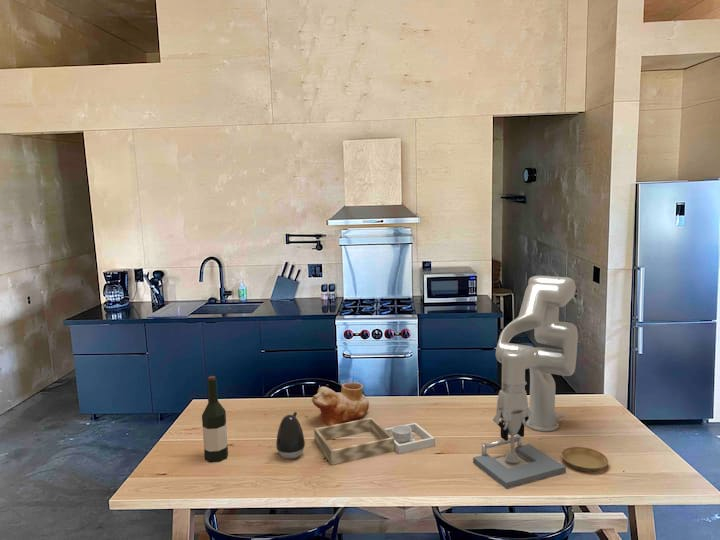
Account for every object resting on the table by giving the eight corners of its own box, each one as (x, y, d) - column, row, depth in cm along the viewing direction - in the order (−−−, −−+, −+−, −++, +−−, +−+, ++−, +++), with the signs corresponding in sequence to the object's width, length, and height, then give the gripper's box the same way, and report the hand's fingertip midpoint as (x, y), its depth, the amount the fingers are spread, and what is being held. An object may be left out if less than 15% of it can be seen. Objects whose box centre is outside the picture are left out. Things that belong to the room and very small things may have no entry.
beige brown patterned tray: (372, 429, 210) (371, 417, 210) (394, 451, 192) (394, 438, 191) (314, 441, 201) (314, 428, 201) (331, 465, 183) (331, 451, 182)
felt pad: (513, 454, 188) (513, 453, 188) (531, 466, 179) (531, 465, 179) (492, 459, 184) (492, 459, 184) (509, 471, 176) (509, 471, 176)
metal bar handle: (519, 450, 191) (519, 434, 190) (522, 452, 189) (522, 436, 188) (480, 459, 184) (480, 443, 184) (483, 461, 183) (483, 445, 182)
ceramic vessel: (305, 420, 221) (304, 385, 219) (358, 405, 235) (357, 373, 233) (321, 431, 209) (320, 395, 207) (376, 415, 223) (375, 381, 221)
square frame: (415, 429, 209) (415, 422, 209) (434, 445, 195) (434, 438, 195) (381, 437, 204) (380, 429, 203) (398, 454, 190) (398, 446, 189)
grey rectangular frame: (529, 449, 191) (529, 443, 191) (565, 472, 175) (565, 466, 174) (473, 462, 182) (473, 457, 182) (506, 488, 166) (506, 482, 166)
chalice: (523, 464, 178) (524, 414, 175) (502, 463, 179) (503, 412, 176) (521, 454, 185) (522, 405, 182) (501, 453, 186) (501, 404, 183)
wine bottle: (207, 465, 185) (201, 382, 181) (202, 455, 192) (197, 375, 188) (230, 459, 189) (226, 378, 185) (225, 449, 196) (220, 371, 192)
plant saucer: (613, 476, 172) (614, 469, 172) (566, 473, 174) (566, 466, 174) (600, 454, 186) (601, 447, 186) (557, 452, 189) (557, 445, 188)
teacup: (385, 444, 197) (385, 433, 197) (393, 433, 207) (393, 422, 206) (411, 448, 194) (411, 436, 193) (418, 437, 203) (418, 425, 203)
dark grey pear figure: (310, 450, 194) (308, 411, 192) (297, 464, 184) (295, 422, 182) (285, 446, 197) (283, 408, 195) (271, 460, 188) (269, 419, 185)
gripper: (526, 379, 185) (525, 428, 187) (485, 387, 178) (484, 437, 181) (541, 386, 178) (540, 436, 180) (499, 394, 171) (498, 447, 174)
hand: (512, 436), depth 181 cm, fingers closed on chalice, 6 cm apart
